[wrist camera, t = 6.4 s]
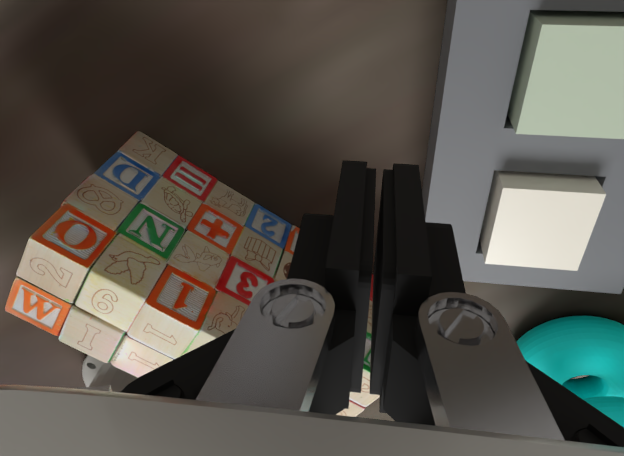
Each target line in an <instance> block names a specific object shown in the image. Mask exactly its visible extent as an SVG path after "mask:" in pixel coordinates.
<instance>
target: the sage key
mask: <svg viewBox="0 0 624 456" xmlns="http://www.w3.org/2000/svg"><path fill="white" fill-rule="evenodd" d="M507 114H508V117H509V119H510V121H511V124H512V126H513V128H514V131H515V133H516V134H528V135H549V136H569V137H589V138H610V139H624V12H608V11H560V10H530V13H529V17H528V22H527V26H526V31H525V35H524V40H523V44H522V49H521V53H520V58H519V62H518V67H517V71H516V75H515V80H514V84H513V89H512V93H511V98H510V102H509V107H508V111H507Z"/></svg>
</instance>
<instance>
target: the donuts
mask: <svg viewBox="0 0 624 456" xmlns="http://www.w3.org/2000/svg"><path fill="white" fill-rule="evenodd" d="M516 343H517V345H518V347H519V349H520V351H521V353H522V355H523V357H524V359H525V360H526V361H527V362H529V363H530V364H532V365H533V366H535V367H536V368H537V369H539V370H540V371H542V372H543V373H545V374H546V375H548V376H549V377H551V378H552V379H554V380H555V381H556V382H558V383H559V384H561V385H562V386H564V387H565V388H567V389H568V390H570V391H571V392H573V393H574V394H576V395H577V396H578V397H580V398H581V399H583V400H584V401H586V402H587V403H589V404H590V405H592V406H593V407H595V408H596V409H598V410H599V411H600V412H602V413H603V414H605V415H606V416H608V417H609V418H611V419H612V420H614V421H615V422H617V423H618V424H620V425H621V426H622V427H624V325H623V324H621V323H619V322H616V321H613V320H610V319H607V318H602V317H596V316H569V317H562V318H558V319H554V320H550V321H548V322H545V323H543V324H540V325H538V326H536V327H534V328H533V329H531V330H529V331H528V332H527V333H525V334H524V335H523V336H522V337H520V338H519V339H518V340H517V342H516ZM582 375H589V376H587V377H583V378H578V379H571V378H573V377H576V376H582Z"/></svg>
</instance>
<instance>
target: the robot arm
mask: <svg viewBox="0 0 624 456" xmlns="http://www.w3.org/2000/svg"><path fill="white" fill-rule="evenodd" d="M366 167H367V162H360V161H344V160H343V163H342V169H341V175H340V181H339V187H338V194H337V200H336V206H335V212H334V216H333V215H319V214H304V215H303V218H302V222H301V226H300V230H299V234H298V238H297V242H296V246H295V249H294V253H293V257H292V261H291V265H290V269H289V273H288V277H287V279H284V280H279V281H276V282H273V283H270V284H268V285H266V286H265V287H263V288H262V289H260V290H259V291H258V292H257V294H256V295H255V296H254V297H253V299H252V301H251V303H250V304H249V306H248V308H247V310H246V311H245V313H244V315H243V317H242V318H241V320H240V322H239V324H238V326H237V327H236V329H234V330H232V331H230V332H228V333H226V334H224V335H222V336H220V337H218V338H216V339H214V340H212V341H210V342H208V343H206V344H204V345H202V346H200V347H198V348H196V349H194V350H192V351H190V352H188V353H186V354H184V355H182V356H180V357H178V358H176V359H174V360H172V361H170V362H168V363H166V364H164V365H162V366H160V367H158V368H156V369H154V370H152V371H150V372H148V373H146V374H144V375H142V376H140V377H139V378H137V377H135V376H133V375H131V374H129V373H127V372H125V371H123V370H121V369H118V368H116V367H114V366H113V365H112V364H111V362H109V363H104V362H102V361H100V360H98V359H96V358H94V357H92V356H89V355H87V357H86V359H85V360H84V362H83V366H82V376H83V380H84V382H85V385H86V387H83V388H62V387H45V386H29V385H0V456H624V427H622V426H621V425H620V424H618V423H617V422H615V421H614V420H612V419H611V418H609V417H608V416H606V415H605V414H603V413H602V412H600V411H599V410H598V409H596V408H595V407H593V406H592V405H590V404H589V403H587V402H586V401H584V400H583V399H581V398H580V397H578V396H577V395H576V394H574V393H573V392H571V391H570V390H568V389H567V388H565V387H564V386H562V385H561V384H559V383H558V382H556V381H555V380H554V379H552V378H551V377H549V376H548V375H546V374H545V373H543V372H542V371H540V370H539V369H537V368H536V367H535V366H533V365H532V364H530V363H529V362H527V361H526V360H525V359H524V357H523V355H522V353H521V351H520V349H519V347H518V345H517V343H516V341H515V339H514V336H513V334H512V332H511V330H510V328H509V326H508V324H507V322H506V320H505V319H504V317H503V316H502V315H501V313H500V312H499V310H497V309H496V308H495V307H494V306H492V305H491V304H490V303H488V302H486V301H484V300H483V299H481V298H479V297H476V296H473V295H469V294H466V293H465V288H464V283H463V278H462V273H461V268H460V263H459V258H458V253H457V248H456V243H455V238H454V233H453V228H452V225H451V224H444V223H430V222H425V214H424V205H423V197H422V189H421V180H420V172H419V165H409V164H394V165H393V170H386V169H384V171H383V180H382V190H381V200H380V211H379V221H378V231H377V242H376V252H375V262H374V275H373V301H372V331H371V361H370V394H375V395H380V412H381V413H387V414H388V415H389V416H391V417H392V418H393V419H394V420H395V421H387V420H378V419H369V418H360V417H351V416H341V415H336V414H338V413H339V412H341V411H342V410H344V409H349V397H350V392H356V393H361V386H362V376H363V365H364V355H365V344H366V333H367V323H368V312H369V302H370V291H371V280H372V264H373V238H374V210H375V183H376V169H370V168H366Z"/></svg>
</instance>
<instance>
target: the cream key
mask: <svg viewBox="0 0 624 456" xmlns="http://www.w3.org/2000/svg"><path fill="white" fill-rule="evenodd" d="M605 196H606V193H605V191H604V190H603V188H602V187H601V185H600V184H599V182H598V180H597V179H596V177H595V176H585V175H568V174H550V173H533V172H516V171H498V170H494V174H493V179H492V183H491V188H490V192H489V196H488V201H487V205H486V210H485V214H484V219H483V223H482V228H481V232H480V237H479V239H480V243H481V248H482V253H483V257H484V262H485V264H496V265H508V266H521V267H533V268H546V269H559V270H571V271H577V270H578V268H579V265H580V262H581V260H582V257H583V255H584V252H585V249H586V247H587V244H588V241H589V239H590V236H591V233H592V231H593V228H594V225H595V223H596V220H597V218H598V215H599V212H600V210H601V207H602V204H603V202H604V199H605Z"/></svg>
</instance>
